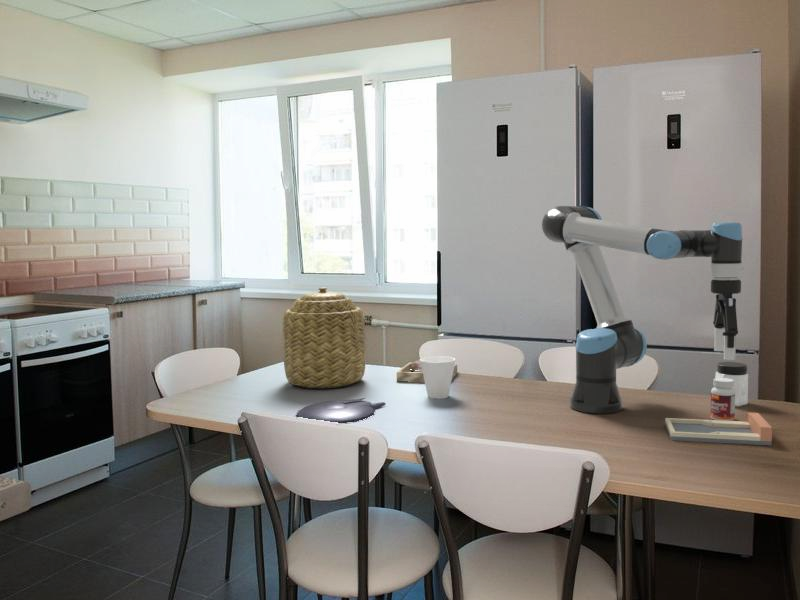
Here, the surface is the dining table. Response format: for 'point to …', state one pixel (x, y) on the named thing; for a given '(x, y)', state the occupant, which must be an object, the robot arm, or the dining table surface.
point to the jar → (735, 379)
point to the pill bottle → (723, 400)
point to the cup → (437, 375)
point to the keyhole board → (721, 430)
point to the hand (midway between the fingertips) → (724, 355)
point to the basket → (324, 341)
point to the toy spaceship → (340, 410)
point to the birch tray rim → (414, 373)
